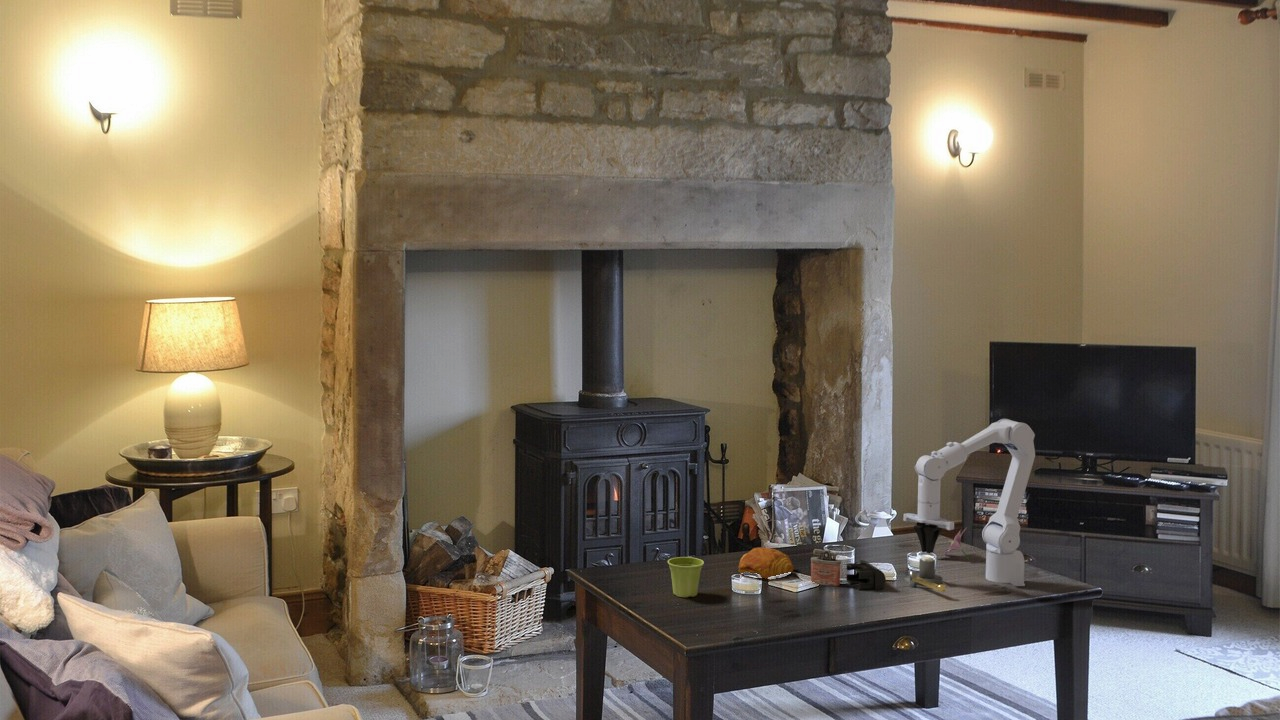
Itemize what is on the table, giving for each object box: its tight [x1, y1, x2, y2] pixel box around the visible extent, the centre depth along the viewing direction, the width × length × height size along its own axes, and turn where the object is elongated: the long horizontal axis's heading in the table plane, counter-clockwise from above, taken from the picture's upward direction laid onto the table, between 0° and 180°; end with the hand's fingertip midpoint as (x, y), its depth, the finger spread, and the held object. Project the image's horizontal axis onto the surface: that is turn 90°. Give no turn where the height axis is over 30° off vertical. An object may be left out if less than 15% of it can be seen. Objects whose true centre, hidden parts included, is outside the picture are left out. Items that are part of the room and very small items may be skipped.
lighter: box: [810, 548, 842, 587], centre depth 297 cm, size 8×3×10 cm, turn 65°
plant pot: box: [667, 556, 705, 598], centre depth 289 cm, size 9×9×9 cm
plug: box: [917, 556, 943, 587], centre depth 298 cm, size 8×8×7 cm
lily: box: [939, 528, 970, 561], centre depth 328 cm, size 12×12×10 cm
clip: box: [909, 570, 947, 593], centre depth 289 cm, size 13×2×4 cm, turn 24°
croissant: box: [737, 546, 794, 580], centre depth 311 cm, size 14×16×8 cm
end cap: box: [846, 559, 887, 591], centre depth 295 cm, size 10×7×7 cm
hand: (927, 552), depth 298 cm, fingers closed
